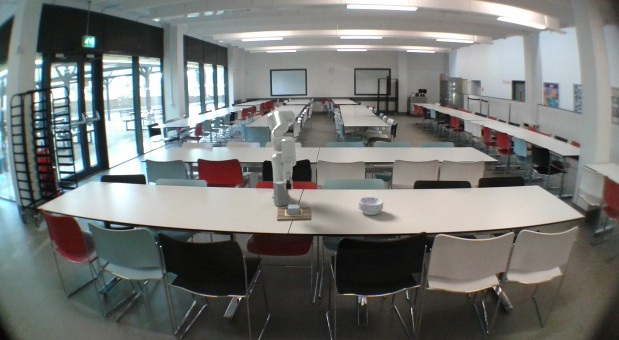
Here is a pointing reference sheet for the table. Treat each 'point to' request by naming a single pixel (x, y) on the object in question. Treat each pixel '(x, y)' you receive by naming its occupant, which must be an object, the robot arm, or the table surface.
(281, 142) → the robot arm
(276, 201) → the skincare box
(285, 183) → the maple cube
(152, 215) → the table surface
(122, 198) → the table surface
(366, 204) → the paper bowls
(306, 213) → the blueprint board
